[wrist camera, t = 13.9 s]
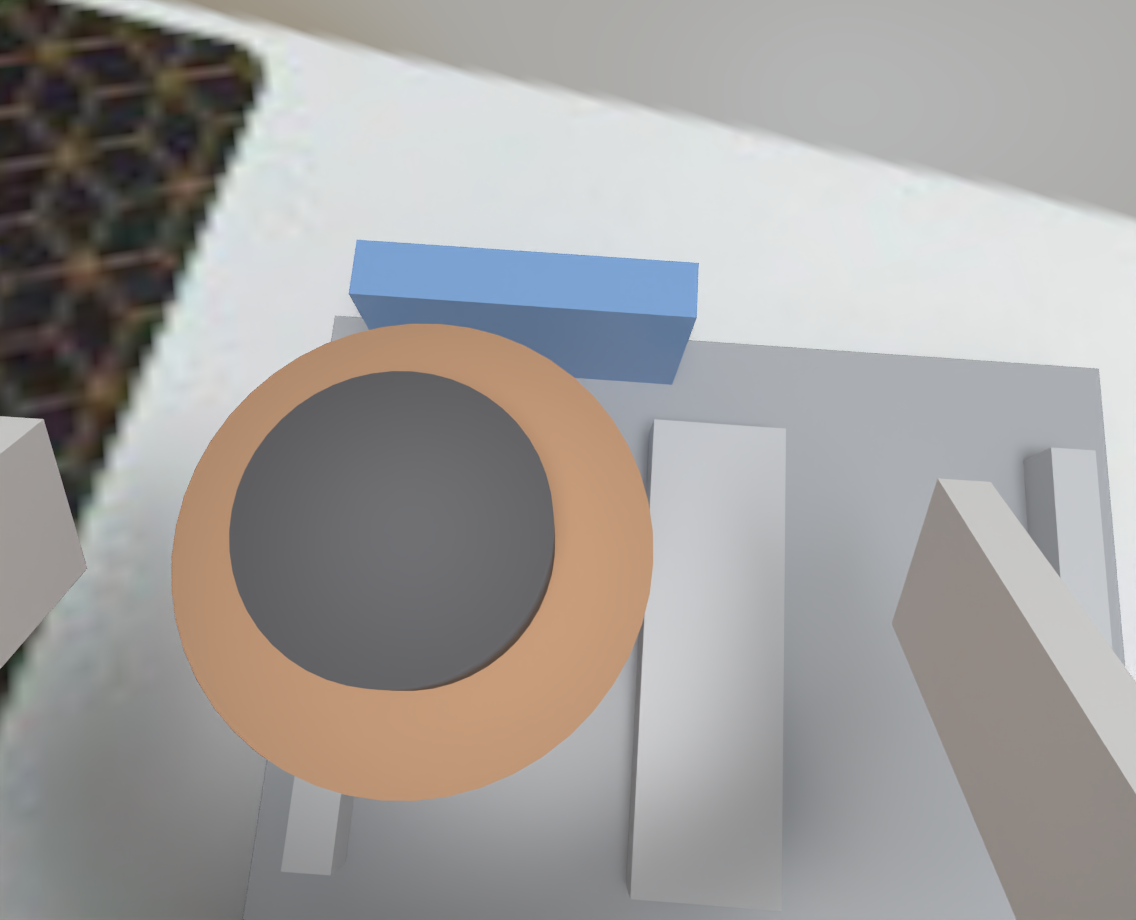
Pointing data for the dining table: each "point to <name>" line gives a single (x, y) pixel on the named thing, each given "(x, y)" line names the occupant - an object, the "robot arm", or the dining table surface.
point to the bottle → (412, 562)
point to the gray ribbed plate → (722, 625)
